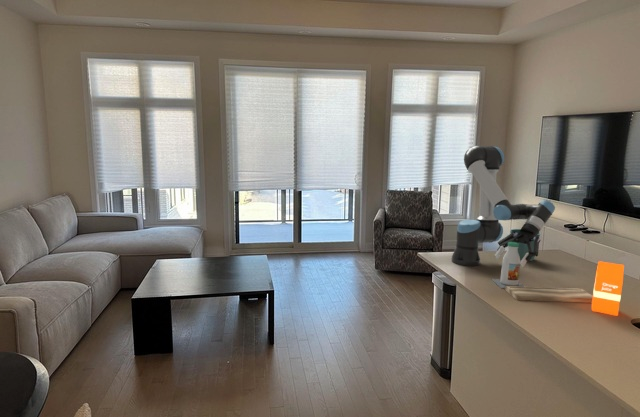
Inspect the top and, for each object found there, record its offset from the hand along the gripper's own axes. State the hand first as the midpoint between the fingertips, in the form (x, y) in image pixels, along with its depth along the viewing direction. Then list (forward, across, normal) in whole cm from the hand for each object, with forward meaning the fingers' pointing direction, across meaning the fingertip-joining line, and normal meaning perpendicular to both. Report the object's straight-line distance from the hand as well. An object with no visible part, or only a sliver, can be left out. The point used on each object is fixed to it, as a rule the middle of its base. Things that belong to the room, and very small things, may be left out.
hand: (508, 261), depth 197 cm
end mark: (+7, 0, -10) cm, 12 cm away
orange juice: (0, -38, -17) cm, 41 cm away
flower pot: (-27, +28, -44) cm, 59 cm away
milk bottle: (+6, 0, -10) cm, 12 cm away
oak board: (+4, -18, -12) cm, 22 cm away
